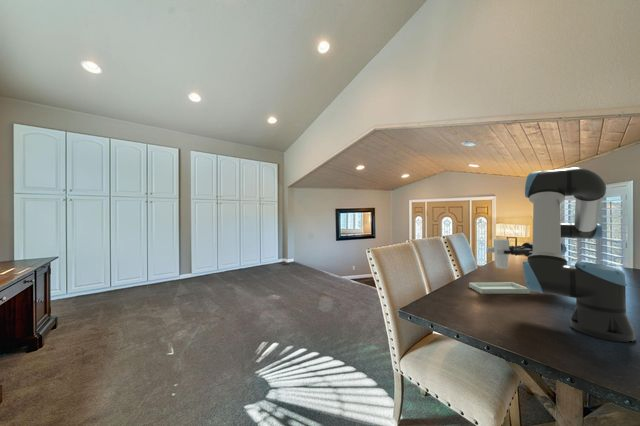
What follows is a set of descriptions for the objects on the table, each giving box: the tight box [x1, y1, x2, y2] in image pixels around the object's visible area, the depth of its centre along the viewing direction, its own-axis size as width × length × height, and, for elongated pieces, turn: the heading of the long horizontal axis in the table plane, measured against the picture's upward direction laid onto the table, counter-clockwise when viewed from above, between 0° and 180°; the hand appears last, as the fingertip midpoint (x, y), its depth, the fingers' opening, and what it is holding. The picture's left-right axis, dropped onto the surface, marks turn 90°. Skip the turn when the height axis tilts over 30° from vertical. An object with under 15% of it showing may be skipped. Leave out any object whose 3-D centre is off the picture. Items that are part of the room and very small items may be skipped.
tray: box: [468, 281, 531, 295], centre depth 134 cm, size 24×12×2 cm, turn 88°
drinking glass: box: [493, 238, 510, 270], centre depth 132 cm, size 7×7×15 cm
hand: (492, 251), depth 132 cm, fingers closed on drinking glass, 6 cm apart
